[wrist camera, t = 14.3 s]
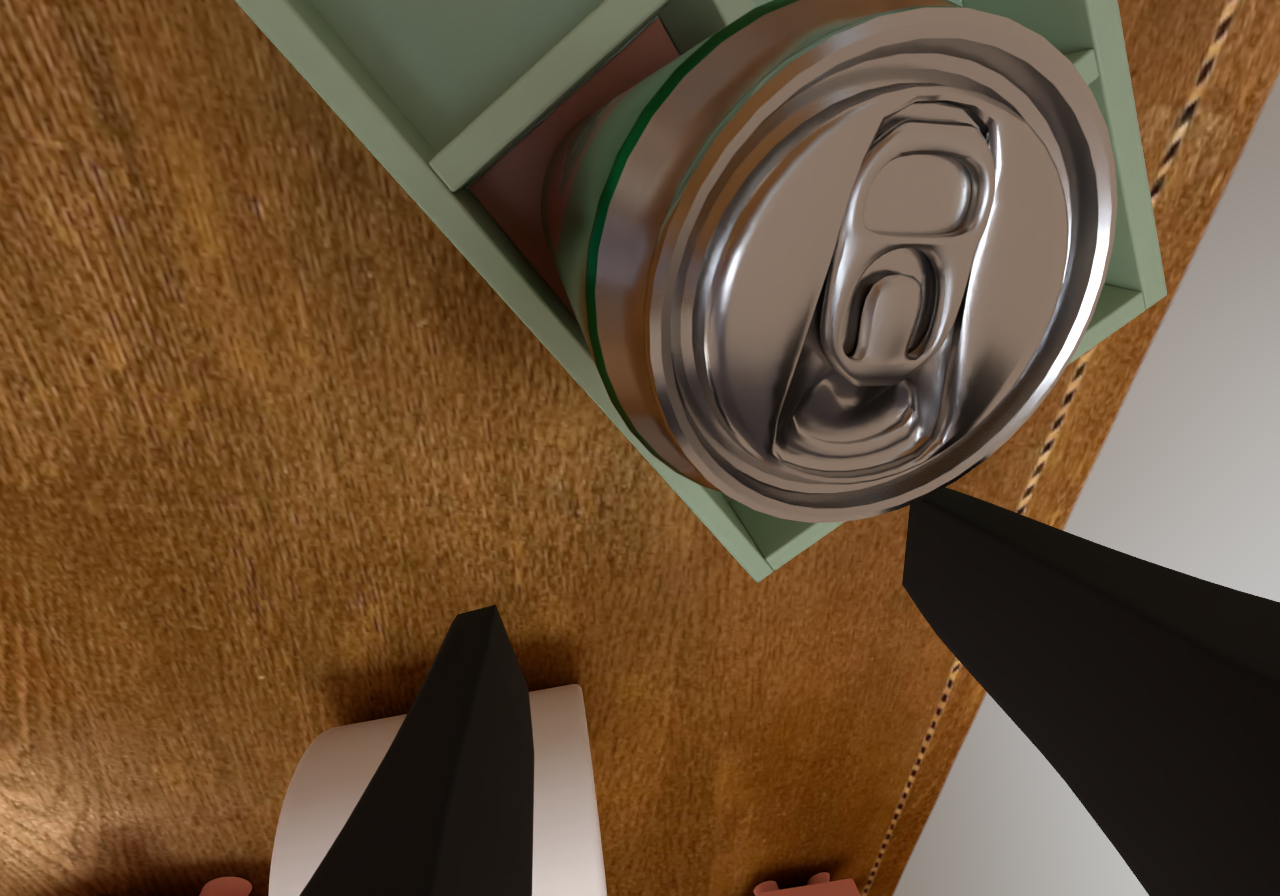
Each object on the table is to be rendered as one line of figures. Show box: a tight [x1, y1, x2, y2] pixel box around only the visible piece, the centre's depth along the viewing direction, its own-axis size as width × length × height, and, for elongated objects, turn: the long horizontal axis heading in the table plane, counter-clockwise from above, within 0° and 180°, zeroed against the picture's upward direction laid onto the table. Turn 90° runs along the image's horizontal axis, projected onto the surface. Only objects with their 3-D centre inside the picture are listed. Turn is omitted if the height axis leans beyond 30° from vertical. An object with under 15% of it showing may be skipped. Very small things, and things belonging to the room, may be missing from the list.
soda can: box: [541, 0, 1117, 523], centre depth 10 cm, size 5×5×12 cm
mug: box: [268, 684, 607, 896], centre depth 22 cm, size 12×10×8 cm
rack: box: [234, 0, 1167, 582], centre depth 14 cm, size 15×22×4 cm
